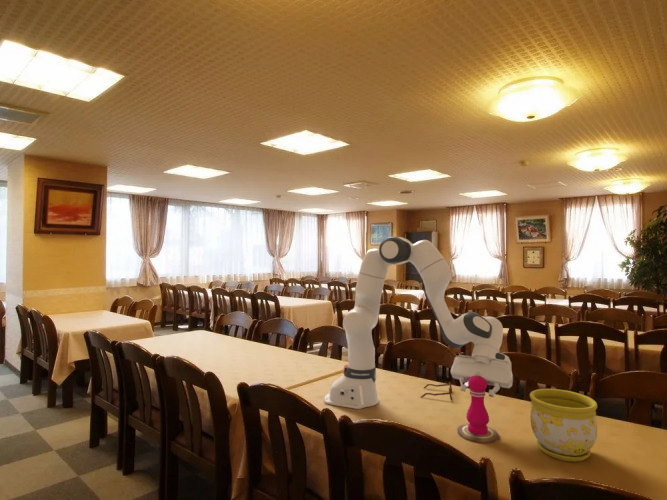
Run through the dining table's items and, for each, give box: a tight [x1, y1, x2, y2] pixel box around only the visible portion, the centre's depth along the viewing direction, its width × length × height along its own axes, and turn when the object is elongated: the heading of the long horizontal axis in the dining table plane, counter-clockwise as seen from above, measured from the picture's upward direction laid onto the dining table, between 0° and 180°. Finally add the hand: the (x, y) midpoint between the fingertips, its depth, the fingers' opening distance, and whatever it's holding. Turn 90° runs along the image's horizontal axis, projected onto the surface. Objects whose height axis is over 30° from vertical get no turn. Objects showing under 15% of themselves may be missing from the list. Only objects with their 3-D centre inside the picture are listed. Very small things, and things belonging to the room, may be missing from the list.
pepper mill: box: [466, 371, 490, 435], centre depth 135 cm, size 7×7×20 cm
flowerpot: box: [529, 388, 598, 463], centre depth 123 cm, size 18×18×16 cm
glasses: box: [419, 381, 453, 400], centre depth 175 cm, size 13×13×5 cm
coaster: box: [456, 423, 499, 444], centre depth 135 cm, size 13×13×1 cm
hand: (476, 393), depth 135 cm, fingers open, 8 cm apart
